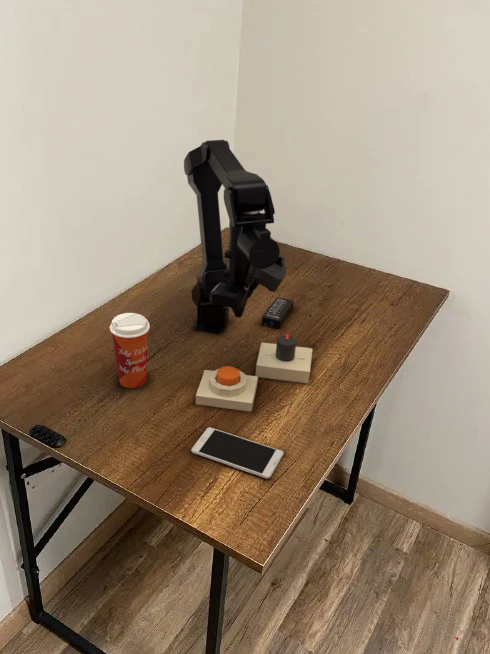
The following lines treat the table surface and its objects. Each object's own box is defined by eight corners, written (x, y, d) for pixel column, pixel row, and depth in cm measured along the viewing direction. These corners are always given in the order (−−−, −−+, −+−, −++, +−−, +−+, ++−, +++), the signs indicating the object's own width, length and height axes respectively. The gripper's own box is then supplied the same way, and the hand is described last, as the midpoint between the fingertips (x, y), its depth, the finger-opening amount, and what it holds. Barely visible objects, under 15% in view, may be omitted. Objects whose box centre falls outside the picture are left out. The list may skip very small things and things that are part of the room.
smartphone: (208, 426, 116) (284, 451, 111) (208, 428, 117) (284, 453, 111) (189, 450, 111) (269, 478, 105) (189, 453, 111) (269, 480, 106)
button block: (195, 404, 123) (195, 388, 121) (204, 378, 130) (204, 362, 128) (251, 412, 121) (252, 395, 119) (257, 385, 129) (258, 369, 126)
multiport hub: (293, 308, 155) (294, 300, 154) (278, 329, 147) (279, 320, 146) (276, 304, 157) (277, 296, 155) (261, 324, 148) (261, 316, 147)
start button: (214, 384, 122) (215, 377, 121) (218, 372, 126) (219, 364, 125) (237, 387, 122) (237, 380, 121) (240, 374, 125) (241, 367, 124)
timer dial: (293, 362, 130) (295, 345, 128) (274, 360, 131) (276, 342, 128) (295, 352, 133) (297, 335, 131) (276, 350, 134) (278, 332, 131)
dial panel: (255, 377, 131) (256, 364, 129) (260, 353, 138) (261, 341, 136) (308, 383, 129) (310, 371, 127) (310, 360, 137) (312, 347, 135)
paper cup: (122, 395, 125) (117, 335, 117) (108, 375, 130) (103, 316, 123) (158, 385, 128) (156, 325, 120) (143, 365, 134) (140, 308, 126)
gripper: (269, 274, 109) (262, 349, 118) (297, 234, 124) (289, 304, 133) (210, 262, 113) (207, 336, 122) (244, 225, 127) (239, 293, 136)
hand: (238, 316), depth 128 cm, fingers closed
